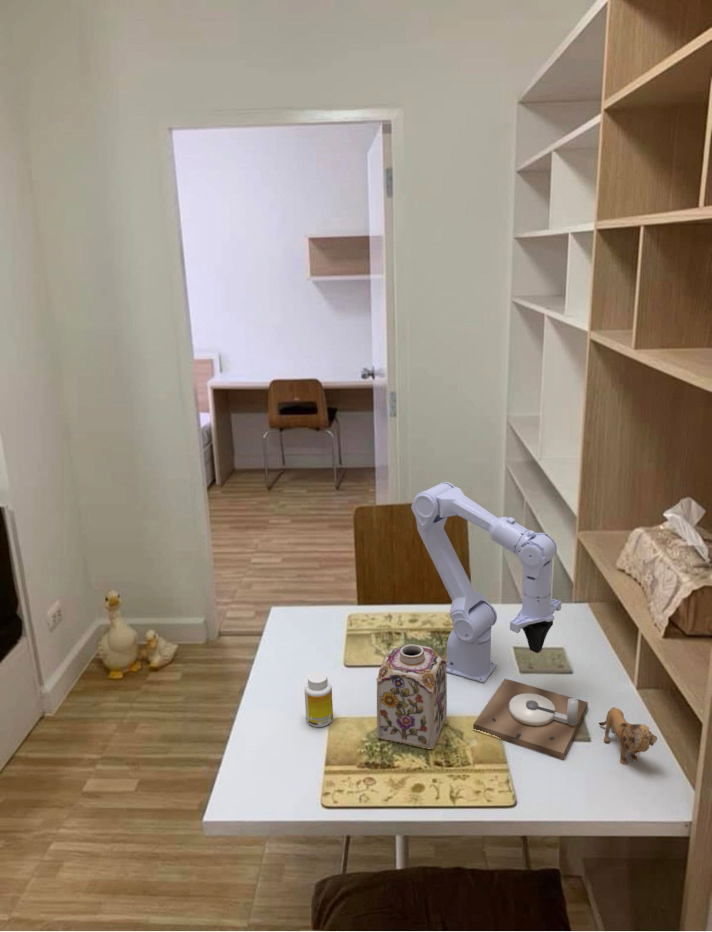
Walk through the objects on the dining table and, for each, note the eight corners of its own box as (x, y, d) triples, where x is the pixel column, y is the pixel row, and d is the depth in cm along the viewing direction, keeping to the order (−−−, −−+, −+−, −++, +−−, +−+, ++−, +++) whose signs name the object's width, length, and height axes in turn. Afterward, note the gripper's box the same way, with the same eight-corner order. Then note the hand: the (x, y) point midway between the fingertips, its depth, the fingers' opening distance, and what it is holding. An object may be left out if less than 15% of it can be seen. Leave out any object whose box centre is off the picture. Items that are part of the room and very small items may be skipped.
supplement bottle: (337, 723, 148) (335, 680, 145) (312, 731, 145) (310, 687, 142) (326, 708, 153) (324, 666, 150) (302, 716, 150) (299, 673, 147)
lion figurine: (658, 771, 132) (662, 729, 129) (633, 778, 130) (637, 736, 128) (609, 723, 145) (612, 684, 142) (586, 728, 144) (589, 689, 141)
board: (473, 730, 144) (473, 723, 144) (504, 684, 159) (504, 677, 158) (563, 760, 135) (563, 752, 135) (587, 708, 150) (587, 701, 149)
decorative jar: (433, 752, 138) (433, 671, 133) (376, 740, 142) (374, 660, 137) (447, 715, 149) (448, 638, 144) (394, 705, 153) (392, 630, 148)
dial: (503, 717, 145) (504, 696, 143) (516, 693, 152) (517, 673, 151) (571, 737, 139) (573, 715, 137) (581, 711, 146) (583, 690, 145)
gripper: (530, 610, 141) (528, 671, 145) (574, 587, 150) (572, 645, 154) (502, 598, 147) (501, 657, 150) (546, 576, 155) (544, 633, 159)
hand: (535, 650), depth 152 cm, fingers closed
